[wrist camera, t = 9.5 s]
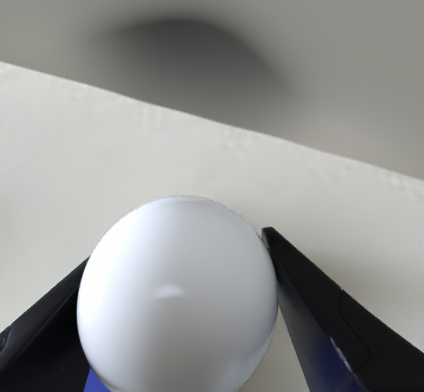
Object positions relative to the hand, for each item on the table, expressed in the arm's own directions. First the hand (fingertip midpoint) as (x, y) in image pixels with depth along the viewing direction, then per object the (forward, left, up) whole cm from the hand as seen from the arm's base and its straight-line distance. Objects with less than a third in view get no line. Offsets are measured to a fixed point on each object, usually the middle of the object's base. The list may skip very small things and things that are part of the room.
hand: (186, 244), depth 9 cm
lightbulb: (-1, +1, -7) cm, 7 cm away
